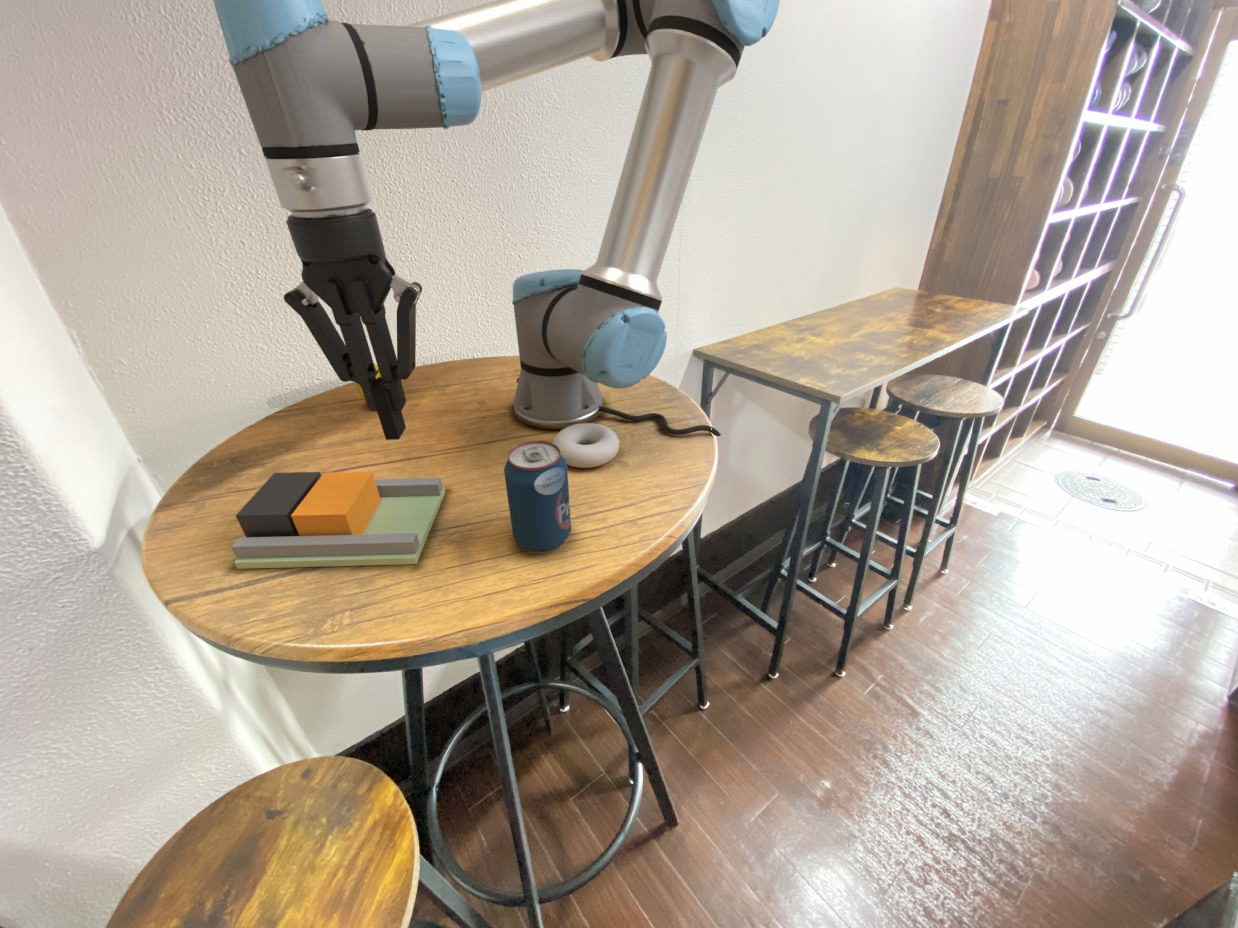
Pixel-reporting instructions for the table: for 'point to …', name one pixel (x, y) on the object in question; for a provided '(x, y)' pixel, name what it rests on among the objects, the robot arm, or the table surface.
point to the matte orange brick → (338, 505)
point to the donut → (586, 456)
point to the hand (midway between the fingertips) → (396, 433)
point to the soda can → (538, 496)
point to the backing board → (379, 525)
